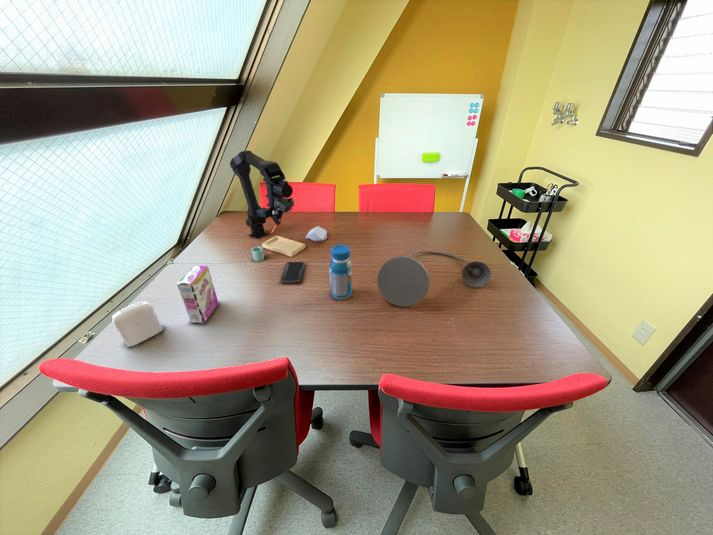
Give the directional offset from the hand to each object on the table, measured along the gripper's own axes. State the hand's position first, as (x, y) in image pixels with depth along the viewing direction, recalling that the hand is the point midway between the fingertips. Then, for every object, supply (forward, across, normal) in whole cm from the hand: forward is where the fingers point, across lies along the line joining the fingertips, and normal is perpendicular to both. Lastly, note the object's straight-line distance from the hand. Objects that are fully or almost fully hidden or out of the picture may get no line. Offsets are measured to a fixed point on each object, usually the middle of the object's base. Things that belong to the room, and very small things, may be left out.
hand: (278, 224), depth 137 cm
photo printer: (+12, -68, -3) cm, 69 cm away
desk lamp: (+12, +11, -75) cm, 77 cm away
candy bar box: (+12, -50, -10) cm, 53 cm away
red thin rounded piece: (+1, 0, +2) cm, 2 cm away
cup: (+12, -14, +2) cm, 18 cm away
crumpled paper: (+12, +16, -10) cm, 23 cm away
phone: (+12, -15, -20) cm, 28 cm away
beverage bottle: (+12, -17, -45) cm, 50 cm away
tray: (+12, 0, -1) cm, 12 cm away
